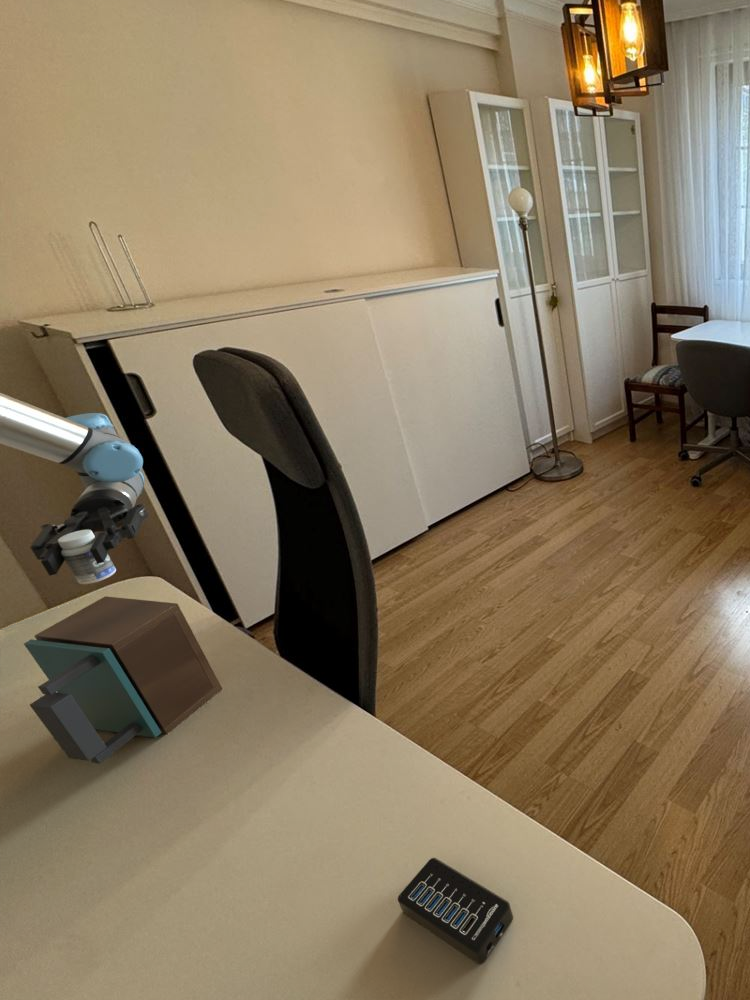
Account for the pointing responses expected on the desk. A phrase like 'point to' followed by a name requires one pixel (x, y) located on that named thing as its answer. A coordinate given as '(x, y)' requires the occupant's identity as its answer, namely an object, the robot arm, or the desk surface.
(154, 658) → the cabinet
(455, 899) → the multiport hub
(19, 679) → the desk surface
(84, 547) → the pill bottle
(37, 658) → the door
